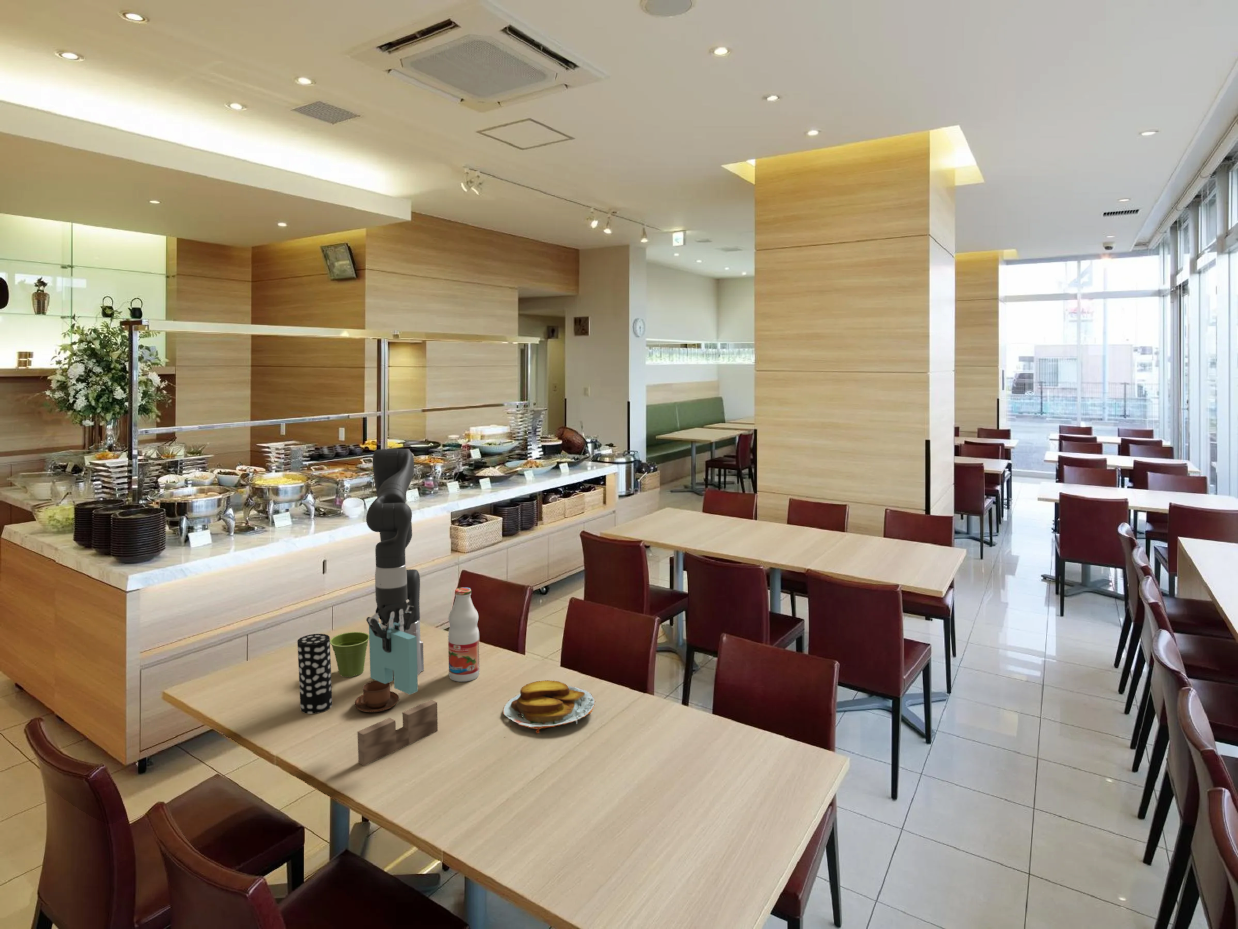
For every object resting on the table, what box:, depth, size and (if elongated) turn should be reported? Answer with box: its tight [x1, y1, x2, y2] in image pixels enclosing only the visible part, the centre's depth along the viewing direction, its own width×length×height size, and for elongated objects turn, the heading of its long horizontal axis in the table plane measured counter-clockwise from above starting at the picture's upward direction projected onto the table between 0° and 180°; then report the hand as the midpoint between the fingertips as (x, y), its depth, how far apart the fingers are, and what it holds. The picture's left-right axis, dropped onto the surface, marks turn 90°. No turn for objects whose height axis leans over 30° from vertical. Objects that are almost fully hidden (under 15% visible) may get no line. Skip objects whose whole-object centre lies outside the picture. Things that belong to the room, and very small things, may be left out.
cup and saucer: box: [354, 680, 400, 713], centre depth 205 cm, size 12×12×6 cm
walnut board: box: [356, 699, 439, 767], centre depth 184 cm, size 22×2×8 cm, turn 142°
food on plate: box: [502, 679, 596, 734], centre depth 203 cm, size 26×26×7 cm
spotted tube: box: [296, 633, 333, 715], centre depth 203 cm, size 8×8×20 cm
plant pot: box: [330, 631, 369, 678], centre depth 226 cm, size 12×12×11 cm
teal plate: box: [368, 622, 419, 696], centre depth 181 cm, size 2×16×14 cm, turn 53°
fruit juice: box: [447, 587, 480, 683], centre depth 224 cm, size 9×9×28 cm
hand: (392, 649), depth 181 cm, fingers closed on teal plate, 2 cm apart
